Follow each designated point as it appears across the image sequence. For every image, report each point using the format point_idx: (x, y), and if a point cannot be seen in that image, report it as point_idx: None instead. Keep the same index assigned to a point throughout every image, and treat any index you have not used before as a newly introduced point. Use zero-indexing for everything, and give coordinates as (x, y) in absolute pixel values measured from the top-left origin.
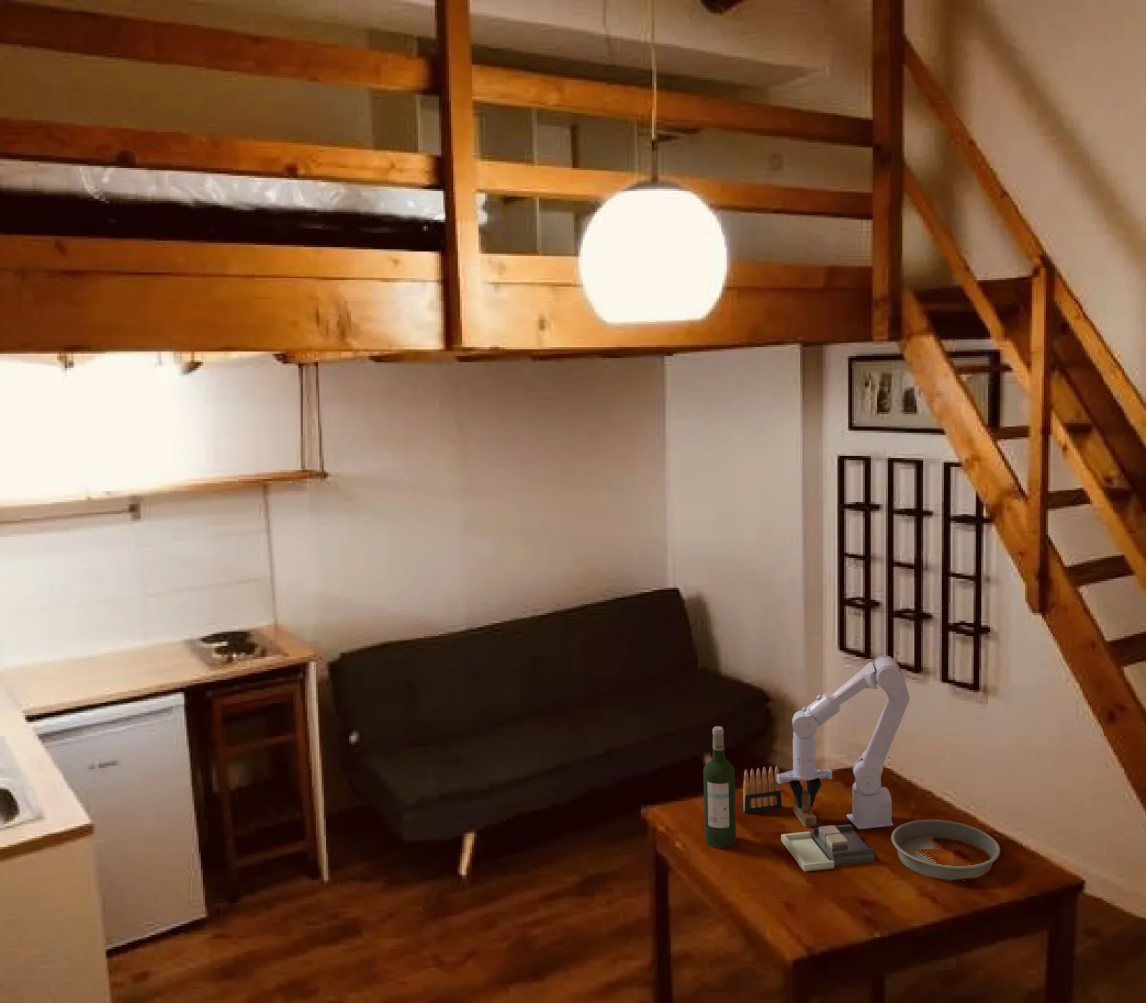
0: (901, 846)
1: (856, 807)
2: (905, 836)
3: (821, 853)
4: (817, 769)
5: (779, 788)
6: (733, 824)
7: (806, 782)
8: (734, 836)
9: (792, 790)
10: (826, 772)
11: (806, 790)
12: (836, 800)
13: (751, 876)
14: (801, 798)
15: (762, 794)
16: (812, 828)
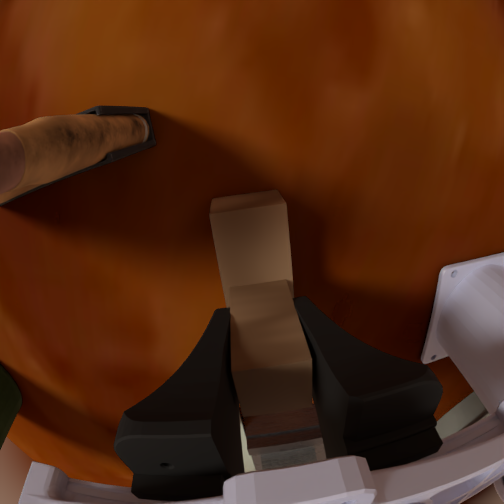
0: (447, 413)
1: (467, 376)
2: (474, 405)
3: (248, 467)
4: (488, 467)
5: (92, 163)
6: (1, 446)
7: (334, 376)
8: (14, 417)
9: (178, 370)
10: (489, 484)
11: (303, 366)
12: (461, 98)
13: (94, 480)
14: (238, 406)
15: (1, 205)
16: (247, 449)
